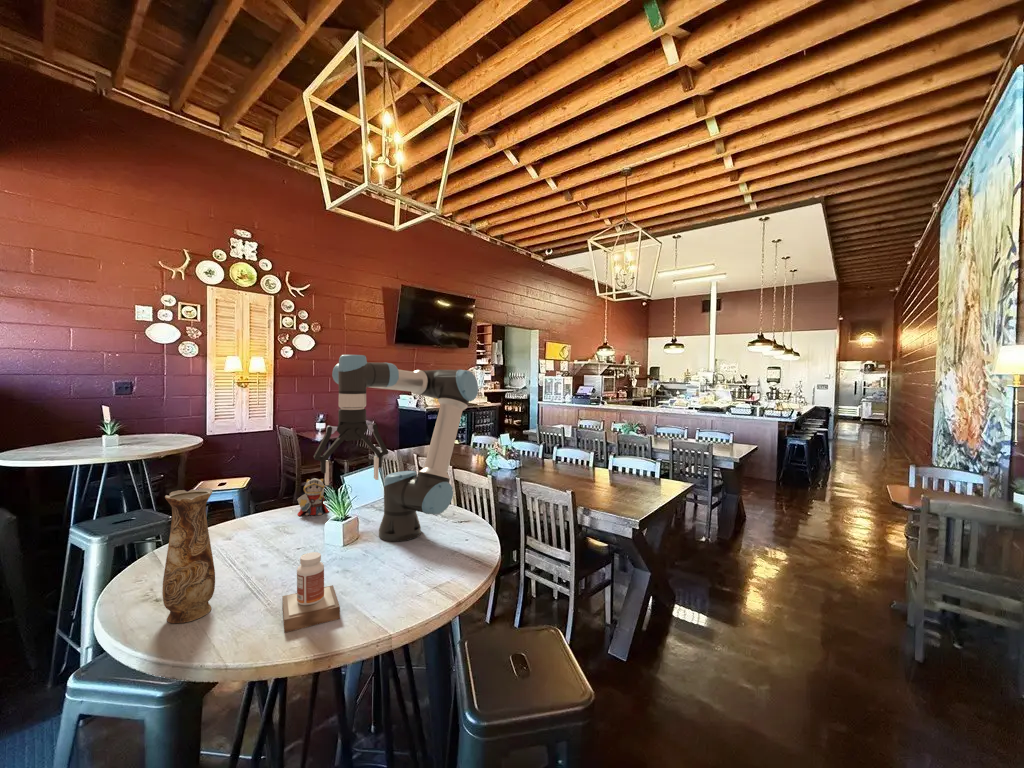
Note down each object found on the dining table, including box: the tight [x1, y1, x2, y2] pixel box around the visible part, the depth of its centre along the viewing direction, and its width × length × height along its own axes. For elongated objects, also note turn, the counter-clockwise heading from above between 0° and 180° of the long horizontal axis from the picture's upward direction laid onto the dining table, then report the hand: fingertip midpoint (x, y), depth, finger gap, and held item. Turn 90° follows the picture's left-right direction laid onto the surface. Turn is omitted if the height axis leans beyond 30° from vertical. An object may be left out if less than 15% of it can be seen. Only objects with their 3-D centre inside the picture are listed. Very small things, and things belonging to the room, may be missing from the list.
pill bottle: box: [296, 551, 325, 605], centre depth 108 cm, size 6×6×11 cm
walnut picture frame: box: [281, 585, 341, 634], centre depth 108 cm, size 12×12×3 cm
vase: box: [161, 487, 216, 624], centre depth 106 cm, size 10×11×30 cm
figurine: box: [297, 477, 330, 517], centre depth 182 cm, size 13×11×15 cm
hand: (352, 481), depth 125 cm, fingers open, 13 cm apart
